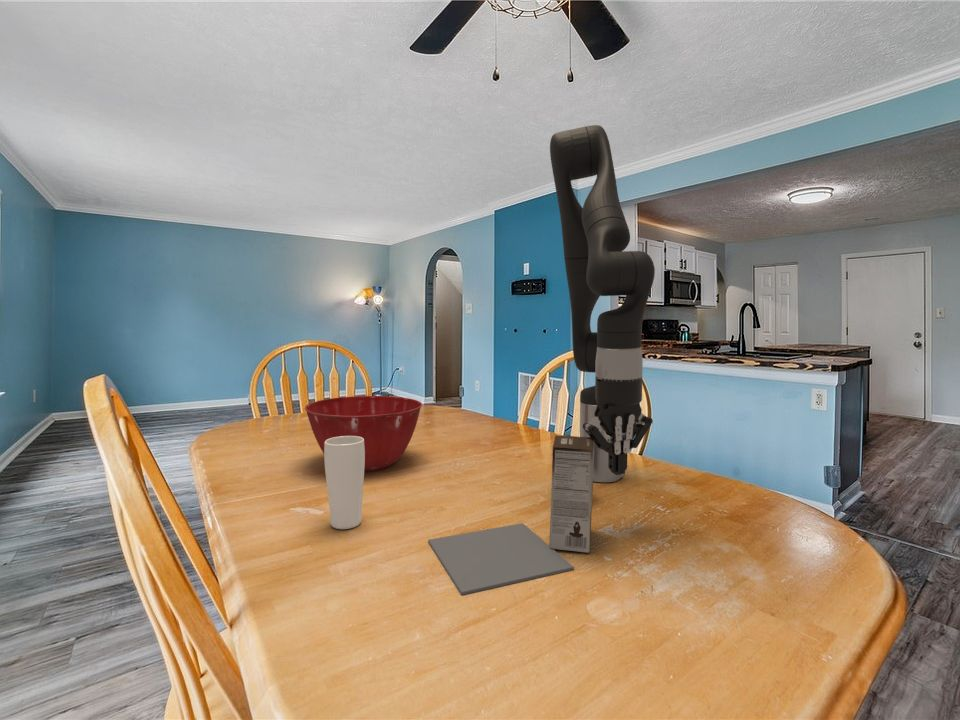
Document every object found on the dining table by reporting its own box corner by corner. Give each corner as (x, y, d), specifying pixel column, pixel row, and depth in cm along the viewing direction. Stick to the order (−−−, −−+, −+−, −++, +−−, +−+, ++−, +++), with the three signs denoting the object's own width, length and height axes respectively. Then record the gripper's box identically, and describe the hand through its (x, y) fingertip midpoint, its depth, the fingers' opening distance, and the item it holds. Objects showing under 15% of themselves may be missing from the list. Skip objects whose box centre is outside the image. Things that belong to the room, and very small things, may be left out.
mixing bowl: (445, 459, 122) (444, 400, 121) (363, 491, 98) (362, 418, 97) (368, 444, 137) (367, 392, 136) (281, 469, 113) (279, 406, 112)
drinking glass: (373, 519, 84) (372, 437, 83) (351, 535, 77) (349, 446, 76) (341, 514, 86) (339, 434, 85) (317, 529, 80) (315, 443, 78)
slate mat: (522, 525, 81) (522, 523, 81) (574, 569, 66) (574, 566, 66) (428, 542, 75) (428, 539, 75) (461, 595, 60) (461, 592, 60)
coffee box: (551, 526, 80) (554, 434, 80) (589, 530, 79) (592, 436, 78) (548, 549, 71) (552, 445, 71) (591, 554, 70) (595, 448, 69)
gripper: (637, 367, 83) (635, 460, 86) (572, 373, 79) (572, 471, 81) (666, 373, 76) (664, 474, 79) (597, 381, 72) (596, 487, 74)
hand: (617, 473), depth 80 cm, fingers closed
